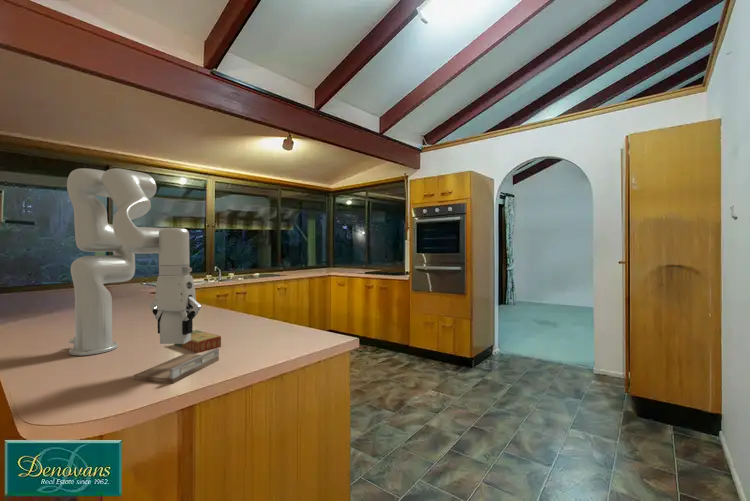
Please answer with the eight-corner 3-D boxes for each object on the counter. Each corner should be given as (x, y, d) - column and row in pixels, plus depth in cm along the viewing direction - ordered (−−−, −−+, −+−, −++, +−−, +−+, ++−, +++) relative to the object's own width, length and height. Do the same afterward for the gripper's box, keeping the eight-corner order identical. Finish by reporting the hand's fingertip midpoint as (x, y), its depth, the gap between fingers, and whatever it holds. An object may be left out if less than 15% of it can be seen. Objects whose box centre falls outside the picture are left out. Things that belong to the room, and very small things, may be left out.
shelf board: (133, 379, 89) (133, 366, 89) (184, 357, 107) (184, 346, 107) (173, 383, 87) (173, 369, 87) (219, 360, 105) (219, 348, 104)
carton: (198, 354, 111) (197, 341, 111) (173, 346, 120) (173, 334, 120) (221, 347, 118) (221, 335, 118) (196, 340, 127) (196, 329, 127)
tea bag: (183, 343, 95) (183, 308, 95) (160, 343, 95) (159, 308, 95) (191, 340, 99) (190, 305, 99) (168, 340, 99) (167, 306, 99)
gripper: (210, 270, 99) (210, 331, 99) (159, 270, 102) (160, 328, 102) (191, 272, 91) (192, 338, 92) (137, 271, 95) (138, 334, 95)
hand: (175, 332), depth 97 cm, fingers closed on tea bag, 7 cm apart
